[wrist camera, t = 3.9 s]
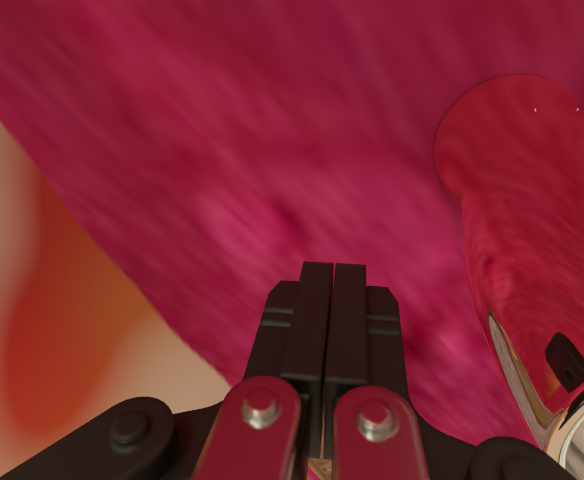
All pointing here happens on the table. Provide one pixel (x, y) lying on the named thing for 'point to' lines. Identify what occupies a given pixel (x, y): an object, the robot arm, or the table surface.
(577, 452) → the beer glass
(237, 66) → the table surface
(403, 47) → the table surface
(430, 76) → the table surface
